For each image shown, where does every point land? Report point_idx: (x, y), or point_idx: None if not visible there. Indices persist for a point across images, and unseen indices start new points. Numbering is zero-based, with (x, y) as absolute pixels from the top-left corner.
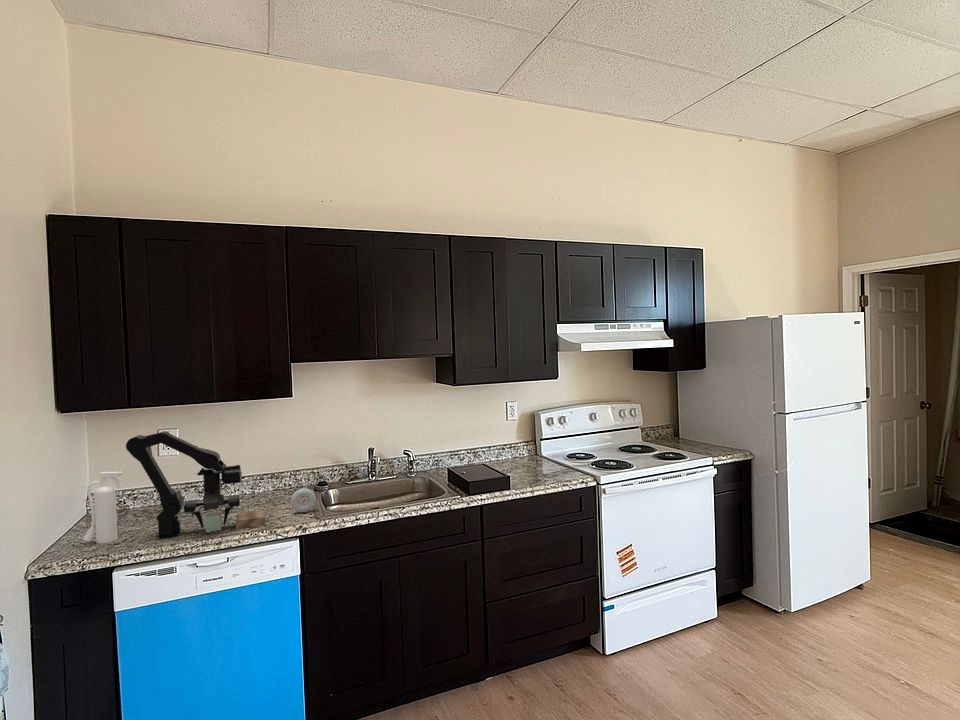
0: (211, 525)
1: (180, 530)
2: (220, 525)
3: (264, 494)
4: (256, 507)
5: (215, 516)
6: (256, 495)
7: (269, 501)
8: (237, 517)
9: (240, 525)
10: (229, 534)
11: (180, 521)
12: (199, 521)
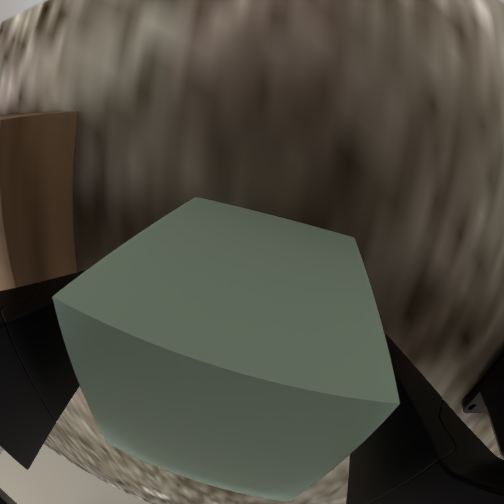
0: (284, 252)
1: (493, 378)
2: (167, 216)
3: (97, 472)
4: (76, 428)
5: (149, 322)
6: (114, 481)
7: (61, 433)
8: (2, 247)
9: (24, 114)
10: (140, 11)
11: (501, 443)
12: (430, 387)
